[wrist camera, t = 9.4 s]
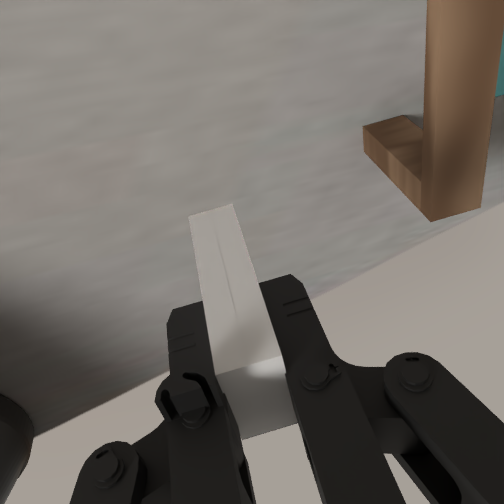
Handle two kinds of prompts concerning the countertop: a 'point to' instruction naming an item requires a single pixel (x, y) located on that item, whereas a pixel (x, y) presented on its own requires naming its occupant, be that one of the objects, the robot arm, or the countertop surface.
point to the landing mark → (500, 72)
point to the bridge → (447, 112)
